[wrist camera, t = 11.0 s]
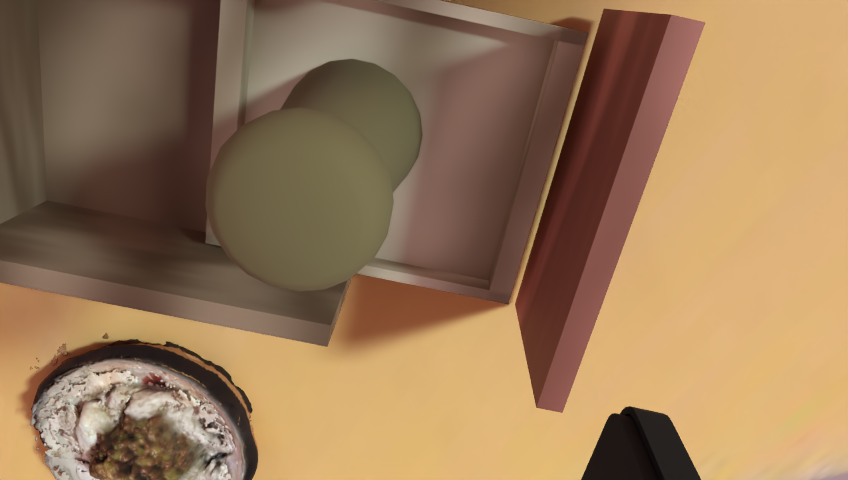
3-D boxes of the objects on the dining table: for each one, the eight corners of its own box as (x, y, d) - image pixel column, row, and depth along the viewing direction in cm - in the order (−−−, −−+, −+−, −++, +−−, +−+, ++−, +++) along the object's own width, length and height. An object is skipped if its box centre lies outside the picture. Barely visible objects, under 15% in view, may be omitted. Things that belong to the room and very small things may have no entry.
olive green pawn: (338, 222, 27) (269, 360, 17) (253, 111, 25) (120, 190, 15) (449, 152, 25) (448, 255, 15) (368, 28, 24) (306, 52, 14)
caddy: (409, -48, 24) (394, -63, 18) (353, 271, 30) (327, 346, 24) (21, -134, 24) (-138, -182, 17) (40, 208, 30) (-74, 267, 23)
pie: (246, 296, 32) (219, 338, 28) (306, 504, 37) (290, 563, 33) (-9, 324, 33) (-69, 368, 29) (86, 521, 39) (46, 579, 35)
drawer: (630, 14, 24) (709, 23, 17) (536, 308, 29) (565, 413, 22) (244, -71, 24) (149, -102, 16) (220, 244, 29) (141, 330, 21)
